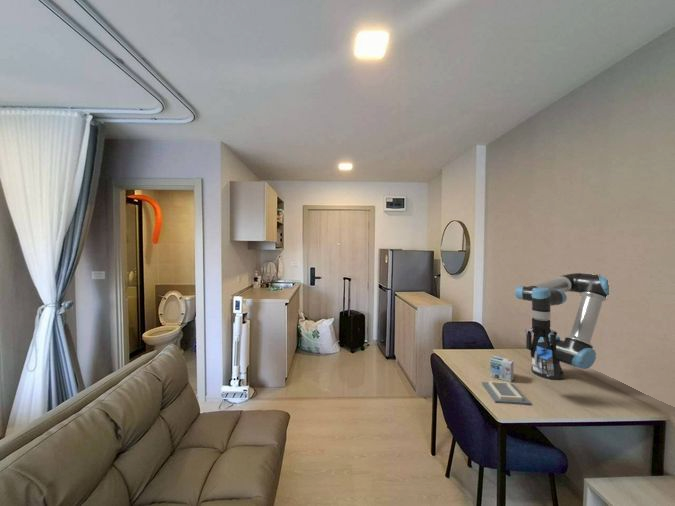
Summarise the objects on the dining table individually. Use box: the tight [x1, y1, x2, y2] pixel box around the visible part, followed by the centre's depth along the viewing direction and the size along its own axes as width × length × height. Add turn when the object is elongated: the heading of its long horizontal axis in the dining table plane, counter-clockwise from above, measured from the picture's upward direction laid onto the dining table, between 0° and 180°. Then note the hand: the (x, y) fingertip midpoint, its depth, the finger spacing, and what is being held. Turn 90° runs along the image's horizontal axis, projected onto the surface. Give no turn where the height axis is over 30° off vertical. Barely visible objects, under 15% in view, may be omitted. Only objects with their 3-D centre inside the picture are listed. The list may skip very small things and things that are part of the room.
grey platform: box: [481, 380, 532, 406], centre depth 140 cm, size 16×18×2 cm
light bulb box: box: [490, 355, 514, 383], centre depth 157 cm, size 11×7×11 cm, turn 47°
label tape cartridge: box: [531, 346, 554, 377], centre depth 136 cm, size 9×4×12 cm, turn 9°
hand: (540, 363), depth 137 cm, fingers open, 5 cm apart
